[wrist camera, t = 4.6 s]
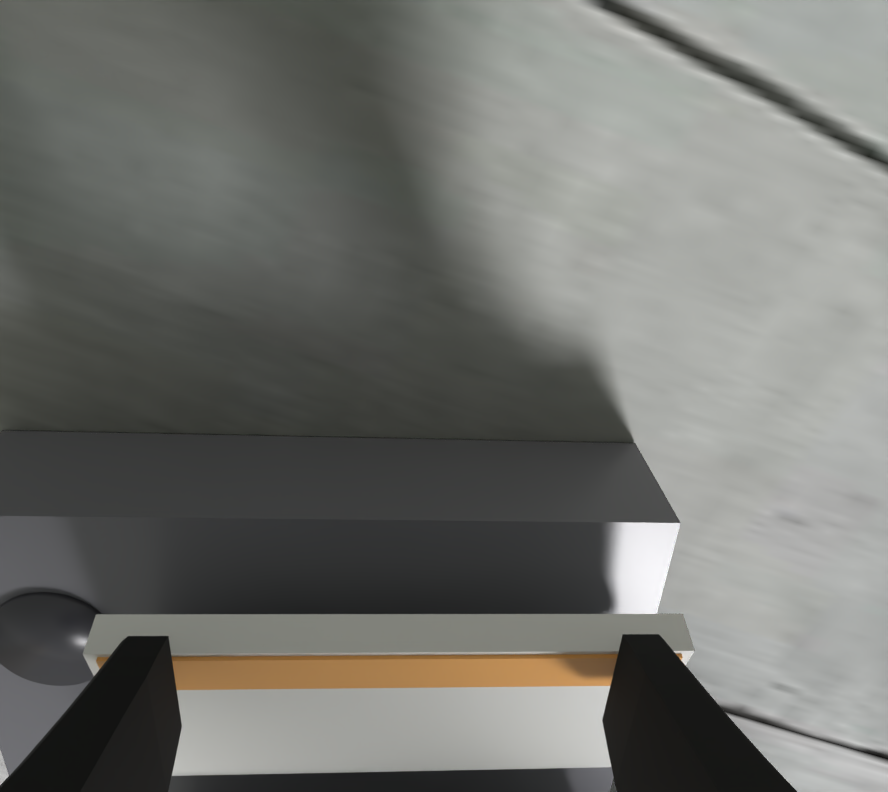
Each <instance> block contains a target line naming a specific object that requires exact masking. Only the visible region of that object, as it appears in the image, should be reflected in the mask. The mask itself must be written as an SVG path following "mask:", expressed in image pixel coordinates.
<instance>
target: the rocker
mask: <svg viewBox="0 0 888 792" xmlns="http://www.w3.org/2000/svg"><path fill="white" fill-rule="evenodd" d="M623 634H659V635H660V636H661V637H662V638H663V639H664V640H665V641H666V643H667V644H668V645H669V646H670V647H671V649H672V650H673V651H674V652H675V653H676V655H677V656H678V657H679V658H680V660H681V661H682V662H683V663H684V664H685V666H686V664H687V663H688V661H689V659H690V658H691V656H692V654H693V653H694V651H695V650H694V647H693V644H692V641H691V638H690V635H689V631H688V628H687V625H686V622H685V619H684V616H683V614H96V616H95V619H94V622H93V625H92V628H91V631H90V634H89V637H88V640H87V643H86V646H85V649H84V651H83V656H84V658H85V660H86V662H87V664H88V666H89V668H90V670H91V672H92V674H93V676H95V675H96V673H97V672H98V671H99V669H100V668H101V667H102V666H103V664H104V663H105V662H106V661H107V659H108V658H109V657H110V655H111V654H112V653H113V652H114V650H115V649H116V648H117V646H118V645H119V644H120V643H121V641H123V640H124V639H125V638H126V637H127V636H169V643H170V650H171V656H172V663H173V670H174V676H175V683H176V690H177V696H178V703H179V710H180V716H181V723H182V729H181V733H180V738H179V743H178V748H177V753H176V758H175V763H174V767H173V772H172V776H191V775H242V774H292V773H343V772H394V771H445V770H495V769H546V768H597V767H611V762H610V758H609V753H608V748H607V742H606V737H605V732H604V727H603V722H602V719H603V715H604V711H605V706H606V702H607V698H608V694H609V690H610V685H611V681H612V677H613V673H614V669H615V664H616V660H617V656H618V652H619V648H620V643H621V639H622V635H623Z"/></svg>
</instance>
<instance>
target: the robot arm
mask: <svg viewBox="0 0 888 792" xmlns="http://www.w3.org/2000/svg"><path fill="white" fill-rule="evenodd" d="M602 722H603V727H604V732H605V737H606V742H607V748H608V753H609V758H610V762H611V767H612V772H613V776H614V781H615V785H616V788H617V792H797V791H796V790H795V789H794V788H793V787H792V786H791V785H790V784H789V783H788V782H787V781H786V780H785V779H784V777H783V776H782V775H781V774H780V773H779V772H778V771H777V770H776V769H775V768H774V767H773V766H772V765H771V764H770V762H769V761H768V760H767V759H766V758H765V757H764V756H763V755H762V754H761V753H760V752H759V750H758V749H757V748H756V747H755V746H754V745H753V744H752V743H751V741H750V740H749V739H748V738H747V737H746V736H745V735H744V734H743V733H742V731H741V730H740V729H739V728H738V727H737V726H736V725H735V724H734V722H733V721H732V720H731V719H730V718H729V717H728V716H727V714H726V713H725V712H724V711H723V710H722V709H721V707H720V706H719V705H718V704H717V703H716V701H715V700H714V699H713V698H712V697H711V696H710V694H709V693H708V692H707V691H706V690H705V688H704V687H703V686H702V685H701V684H700V682H699V681H698V680H697V679H696V678H695V676H694V675H693V674H692V673H691V672H690V670H689V669H688V668H687V667H686V666H685V664H684V663H683V662H682V661H681V660H680V658H679V657H678V656H677V655H676V653H675V652H674V651H673V650H672V649H671V647H670V646H669V645H668V644H667V643H666V641H665V640H664V639H663V638H662V637H661V636H660V635H659V634H623V635H622V639H621V643H620V648H619V652H618V656H617V660H616V664H615V669H614V673H613V677H612V681H611V685H610V690H609V694H608V698H607V702H606V706H605V711H604V715H603V719H602ZM181 729H182V723H181V716H180V710H179V703H178V696H177V690H176V683H175V676H174V670H173V663H172V656H171V650H170V643H169V636H127V637H126V638H125V639H124V640H123V641H121V643H120V644H119V645H118V646H117V648H116V649H115V650H114V652H113V653H112V654H111V655H110V657H109V658H108V659H107V661H106V662H105V663H104V664H103V666H102V667H101V668H100V669H99V671H98V672H97V673H96V675H95V676H94V677H93V678H92V680H91V681H90V682H89V683H88V685H87V686H86V687H85V688H84V690H83V691H82V692H81V693H80V694H79V696H78V697H77V698H76V699H75V700H74V702H73V703H72V704H71V705H70V707H69V708H68V709H67V710H66V711H65V713H64V714H63V715H62V716H61V717H60V719H59V720H58V721H57V722H56V723H55V724H54V726H53V727H52V728H51V729H50V730H49V731H48V732H47V734H46V735H45V736H44V737H43V738H42V739H41V741H40V742H39V743H38V744H37V745H36V746H35V748H34V749H33V750H32V751H31V752H30V753H29V754H28V756H27V757H26V758H25V759H24V760H23V761H22V762H21V764H20V765H19V766H18V767H17V768H16V769H15V770H14V771H13V772H12V773H11V775H10V776H9V777H8V778H7V779H6V780H5V781H4V782H3V783H2V784H1V785H0V792H168V790H169V785H170V781H171V776H172V772H173V767H174V763H175V758H176V753H177V748H178V743H179V738H180V733H181Z"/></svg>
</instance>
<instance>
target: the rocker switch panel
mask: <svg viewBox="0 0 888 792" xmlns="http://www.w3.org/2000/svg"><path fill="white" fill-rule="evenodd" d="M679 527H680V521H679V519H678V518H677V516H676V514H675V512H674V511H673V509H672V507H671V505H670V504H669V502H668V500H667V498H666V497H665V495H664V493H663V491H662V490H661V488H660V486H659V484H658V483H657V481H656V479H655V477H654V476H653V474H652V472H651V470H650V468H649V467H648V465H647V463H646V461H645V460H644V458H643V456H642V454H641V453H640V451H639V449H638V447H637V446H636V444H635V443H597V442H547V441H498V440H448V439H398V438H349V437H299V436H250V435H200V434H151V433H101V432H52V431H2V432H1V433H0V749H1V752H2V755H3V758H4V761H5V764H6V767H7V770H8V774H9V776H10V775H11V773H12V772H13V771H14V770H15V769H16V768H17V767H18V766H19V765H20V764H21V762H22V761H23V760H24V759H25V758H26V757H27V756H28V754H29V753H30V752H31V751H32V750H33V749H34V748H35V746H36V745H37V744H38V743H39V742H40V741H41V739H42V738H43V737H44V736H45V735H46V734H47V732H48V731H49V730H50V729H51V728H52V727H53V726H54V724H55V723H56V722H57V721H58V720H59V719H60V717H61V716H62V715H63V714H64V713H65V711H66V710H67V709H68V708H69V707H70V705H71V704H72V703H73V702H74V700H75V699H76V698H77V697H78V696H79V694H80V693H81V692H82V691H83V690H84V688H85V687H86V686H87V685H88V683H89V682H90V681H91V680H92V678H93V677H94V676H93V674H92V672H91V670H90V668H89V666H88V664H87V662H86V660H85V658H84V656H83V651H84V649H85V646H86V643H87V640H88V637H89V634H90V631H91V628H92V625H93V622H94V619H95V616H96V614H657V611H658V607H659V603H660V599H661V596H662V592H663V588H664V584H665V580H666V577H667V573H668V569H669V565H670V561H671V557H672V554H673V550H674V546H675V542H676V538H677V535H678V531H679ZM613 778H614V776H613V772H612V767H597V768H546V769H495V770H445V771H394V772H343V773H292V774H242V775H191V776H171V781H170V785H169V790H168V792H610V790H611V786H612V782H613Z"/></svg>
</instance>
